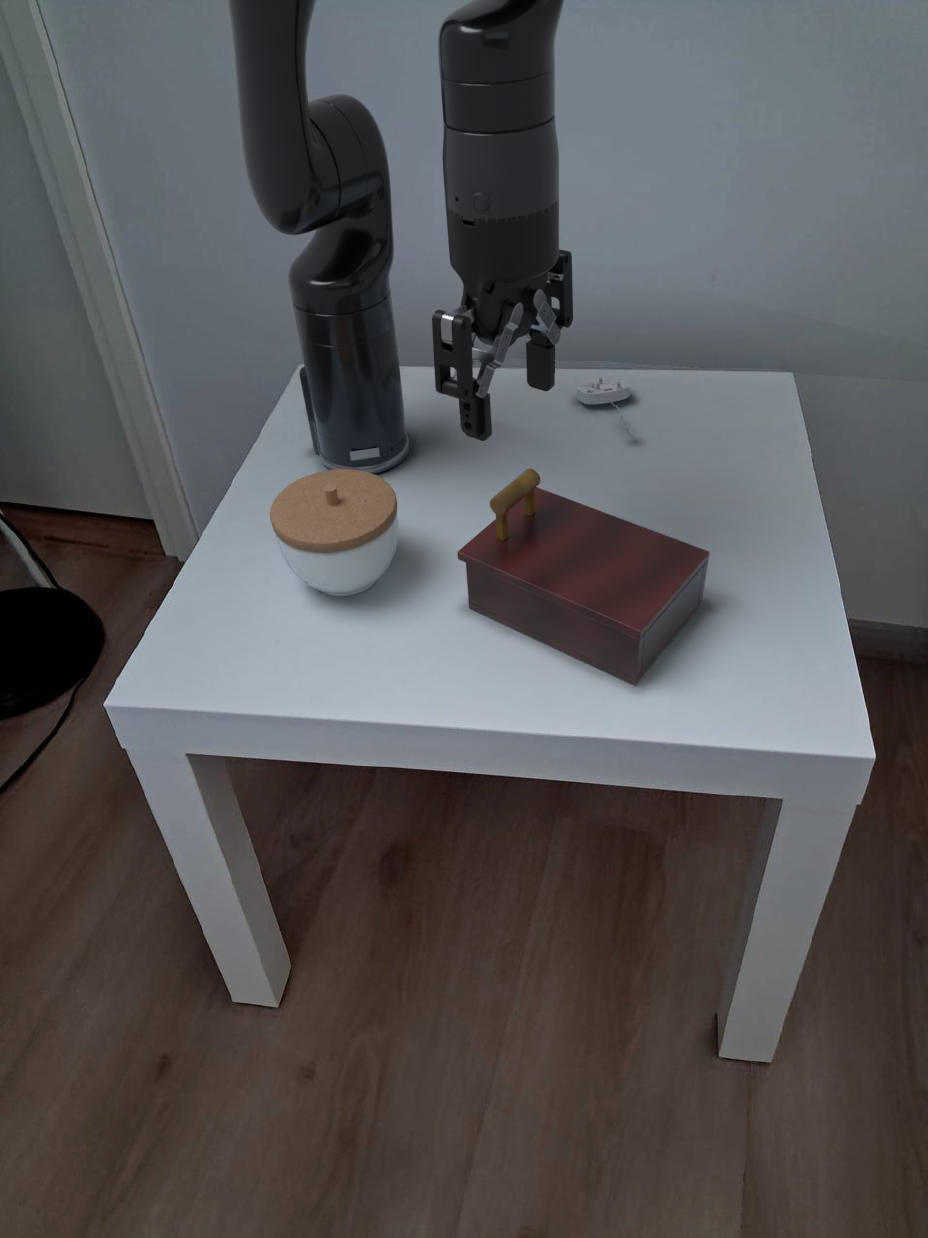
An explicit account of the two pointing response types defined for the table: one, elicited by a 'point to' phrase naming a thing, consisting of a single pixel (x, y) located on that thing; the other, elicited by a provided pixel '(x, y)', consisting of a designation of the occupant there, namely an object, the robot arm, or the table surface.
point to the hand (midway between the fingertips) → (510, 411)
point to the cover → (582, 556)
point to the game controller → (604, 393)
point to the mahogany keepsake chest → (583, 624)
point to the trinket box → (337, 529)
